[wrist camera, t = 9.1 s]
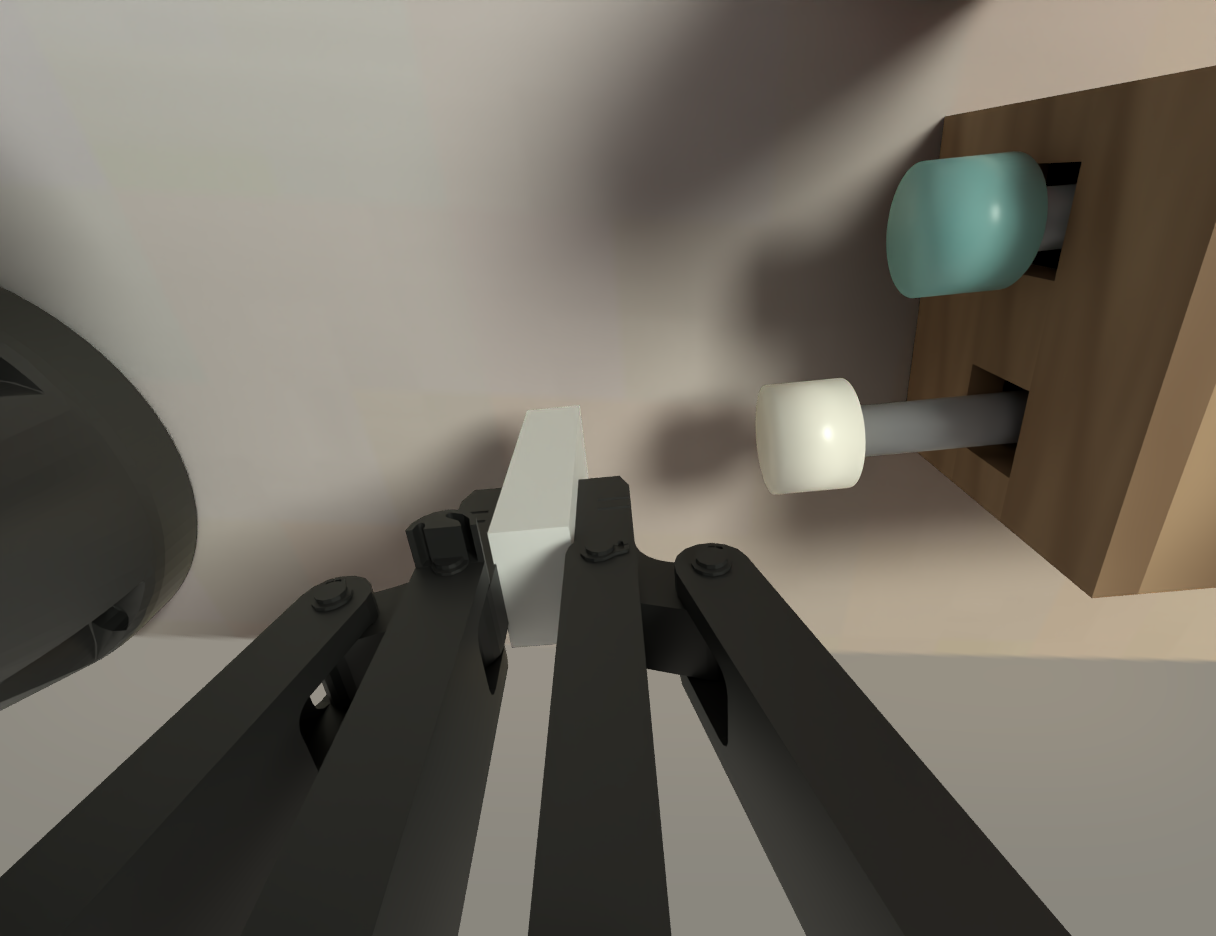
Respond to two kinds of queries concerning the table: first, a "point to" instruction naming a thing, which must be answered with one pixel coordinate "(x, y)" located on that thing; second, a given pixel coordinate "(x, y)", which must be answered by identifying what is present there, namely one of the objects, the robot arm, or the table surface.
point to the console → (1098, 340)
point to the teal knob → (972, 223)
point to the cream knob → (866, 430)
